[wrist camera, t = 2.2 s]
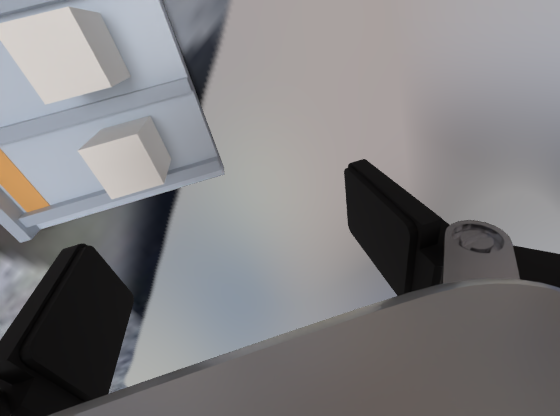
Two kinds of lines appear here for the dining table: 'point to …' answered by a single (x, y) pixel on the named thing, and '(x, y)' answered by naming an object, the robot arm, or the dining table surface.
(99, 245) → the dining table surface
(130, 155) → the white block
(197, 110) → the switch bank
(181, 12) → the dining table surface
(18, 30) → the off-white block
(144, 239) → the dining table surface
